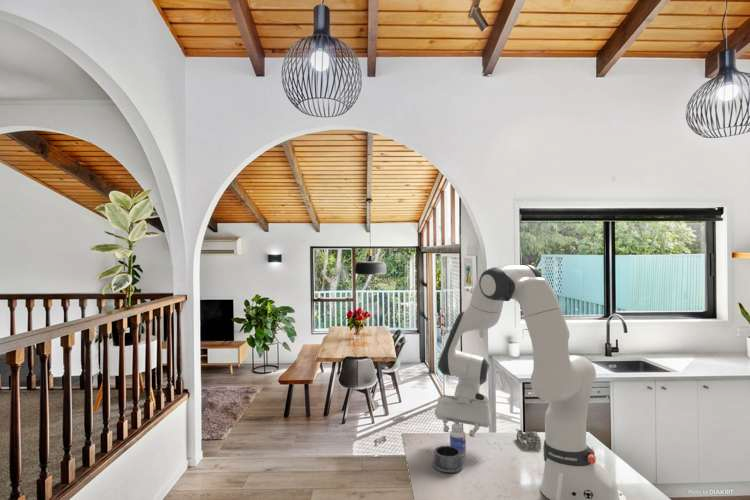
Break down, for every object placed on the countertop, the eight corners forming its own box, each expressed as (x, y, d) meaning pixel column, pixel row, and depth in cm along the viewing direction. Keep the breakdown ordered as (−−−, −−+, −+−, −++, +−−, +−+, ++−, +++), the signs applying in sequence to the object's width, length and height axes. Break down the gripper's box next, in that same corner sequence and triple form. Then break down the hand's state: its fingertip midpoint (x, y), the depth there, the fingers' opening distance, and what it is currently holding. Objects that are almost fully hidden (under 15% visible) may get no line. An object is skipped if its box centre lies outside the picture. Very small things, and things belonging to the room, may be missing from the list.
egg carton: (515, 438, 167) (515, 427, 167) (535, 438, 166) (535, 428, 167) (521, 450, 157) (520, 438, 157) (542, 451, 156) (542, 439, 156)
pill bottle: (465, 457, 151) (465, 429, 151) (449, 456, 152) (449, 428, 152) (465, 450, 156) (465, 423, 156) (450, 449, 157) (450, 422, 158)
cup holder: (466, 463, 146) (466, 448, 146) (457, 476, 138) (457, 460, 138) (439, 457, 151) (438, 443, 151) (428, 469, 142) (428, 454, 143)
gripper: (437, 390, 167) (428, 424, 158) (491, 397, 157) (485, 434, 148) (441, 398, 171) (433, 432, 162) (494, 406, 161) (488, 443, 152)
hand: (458, 433), depth 155 cm, fingers open, 8 cm apart
